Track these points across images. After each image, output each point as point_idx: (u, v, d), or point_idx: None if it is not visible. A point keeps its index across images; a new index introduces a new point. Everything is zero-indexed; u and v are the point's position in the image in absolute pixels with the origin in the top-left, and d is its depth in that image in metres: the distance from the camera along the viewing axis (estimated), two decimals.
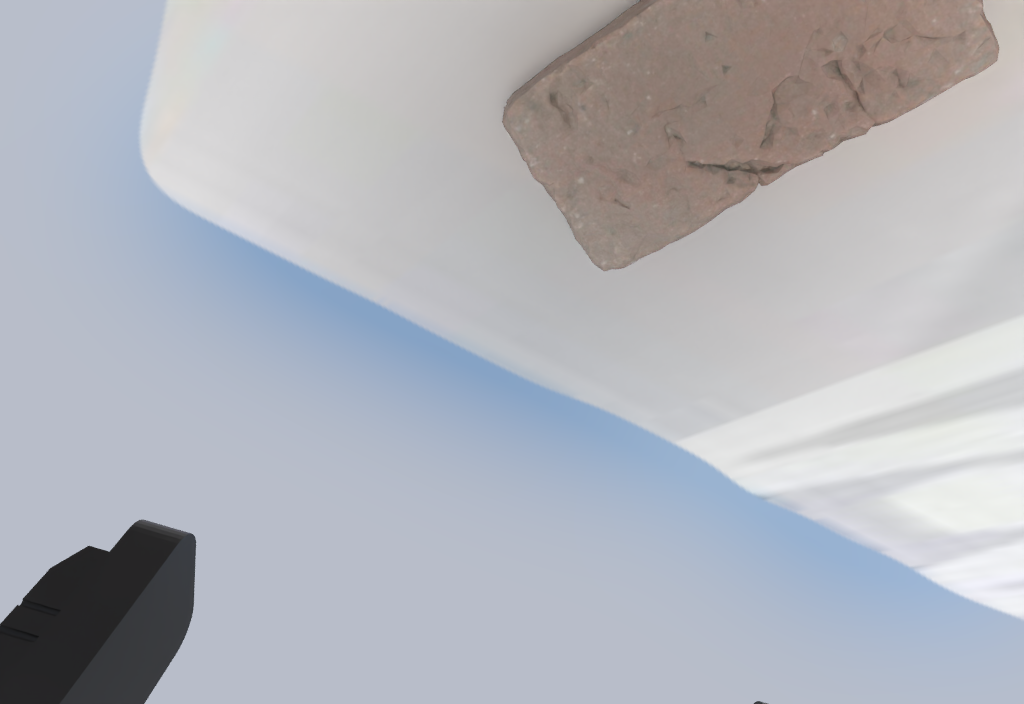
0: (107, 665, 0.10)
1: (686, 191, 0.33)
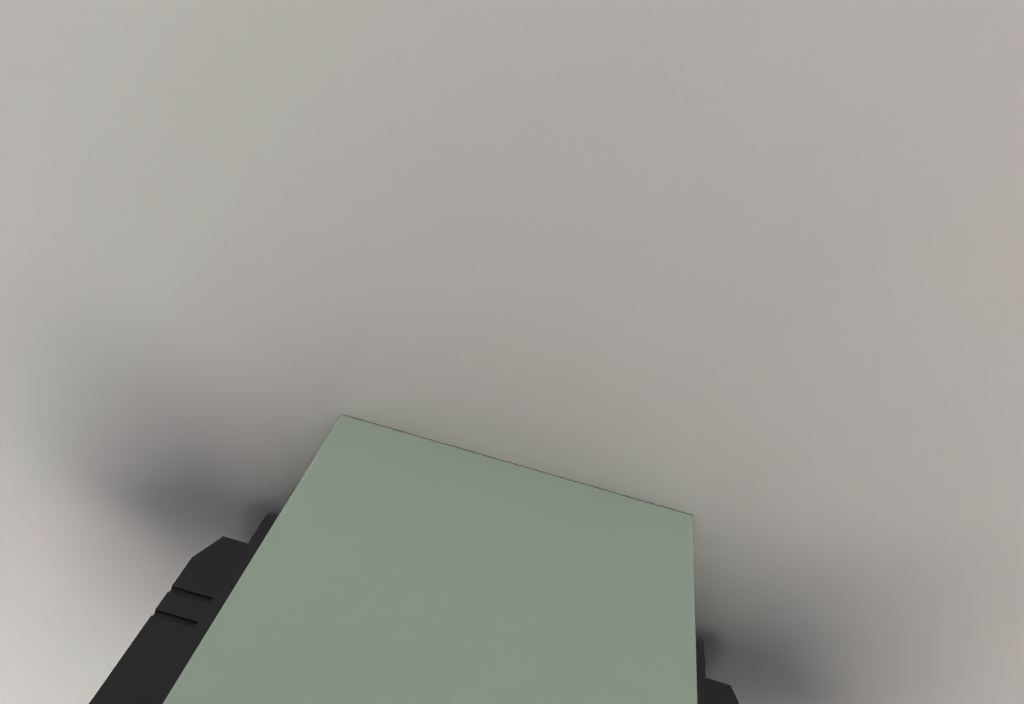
0: None
1: None
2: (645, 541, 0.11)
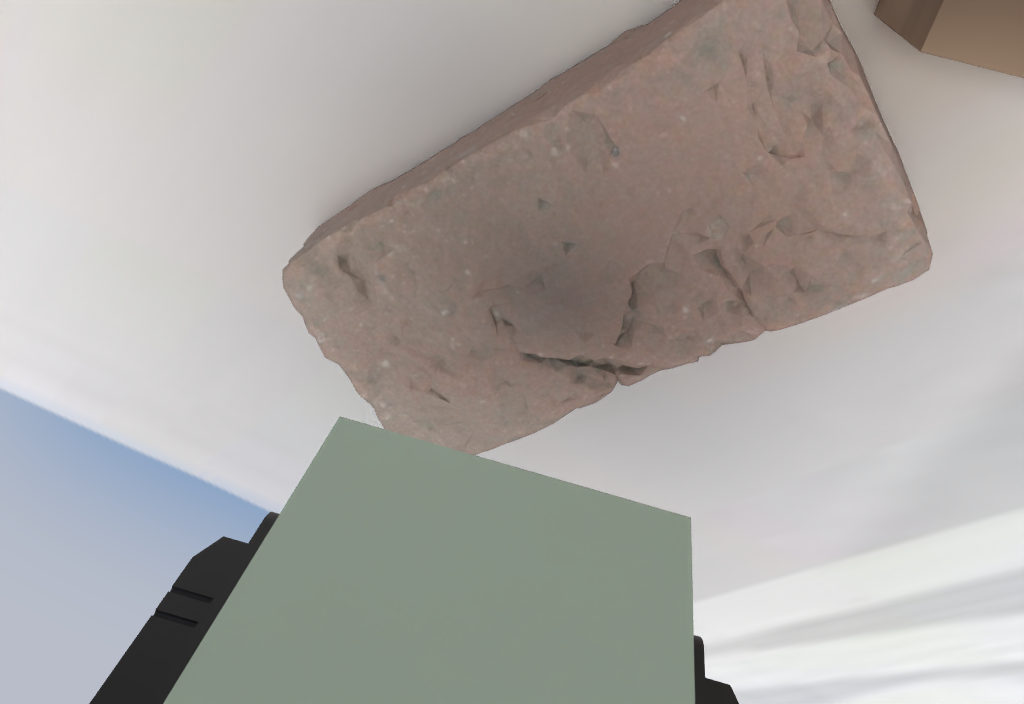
0: None
1: (522, 387, 0.25)
2: (643, 543, 0.11)
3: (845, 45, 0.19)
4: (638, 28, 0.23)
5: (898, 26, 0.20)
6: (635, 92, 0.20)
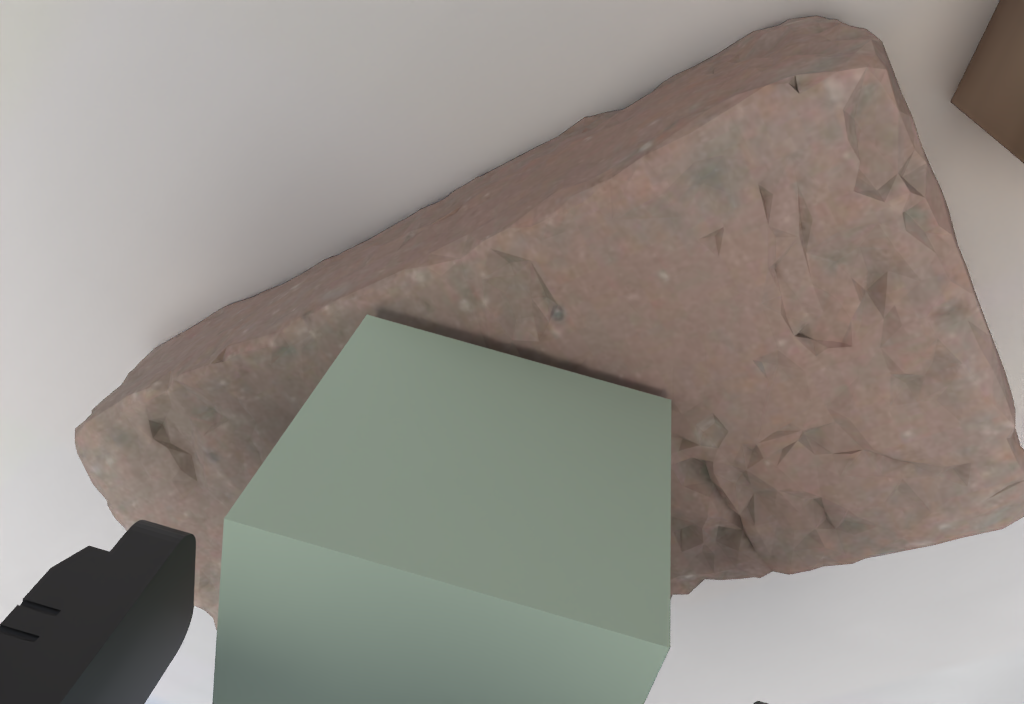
0: (107, 665, 0.10)
1: None
2: (629, 415, 0.13)
3: (931, 184, 0.12)
4: (605, 113, 0.16)
5: (1005, 135, 0.12)
6: (591, 232, 0.12)
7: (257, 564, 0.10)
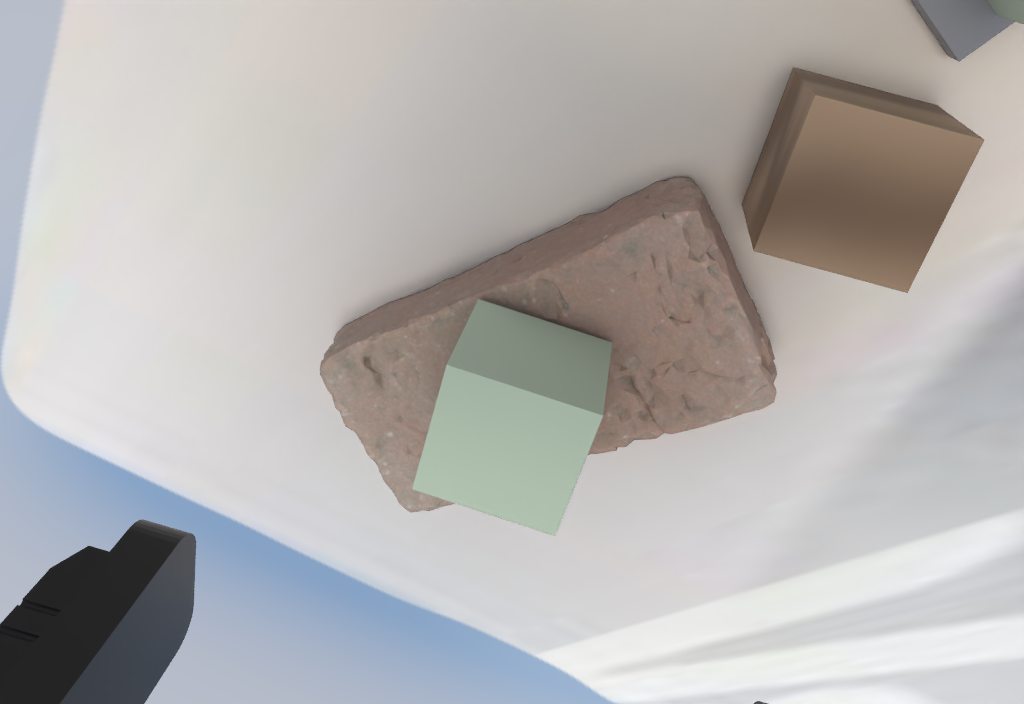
0: (107, 665, 0.10)
1: None
2: (593, 346, 0.30)
3: (720, 256, 0.29)
4: (589, 214, 0.33)
5: (748, 223, 0.29)
6: (582, 271, 0.29)
7: (455, 383, 0.26)
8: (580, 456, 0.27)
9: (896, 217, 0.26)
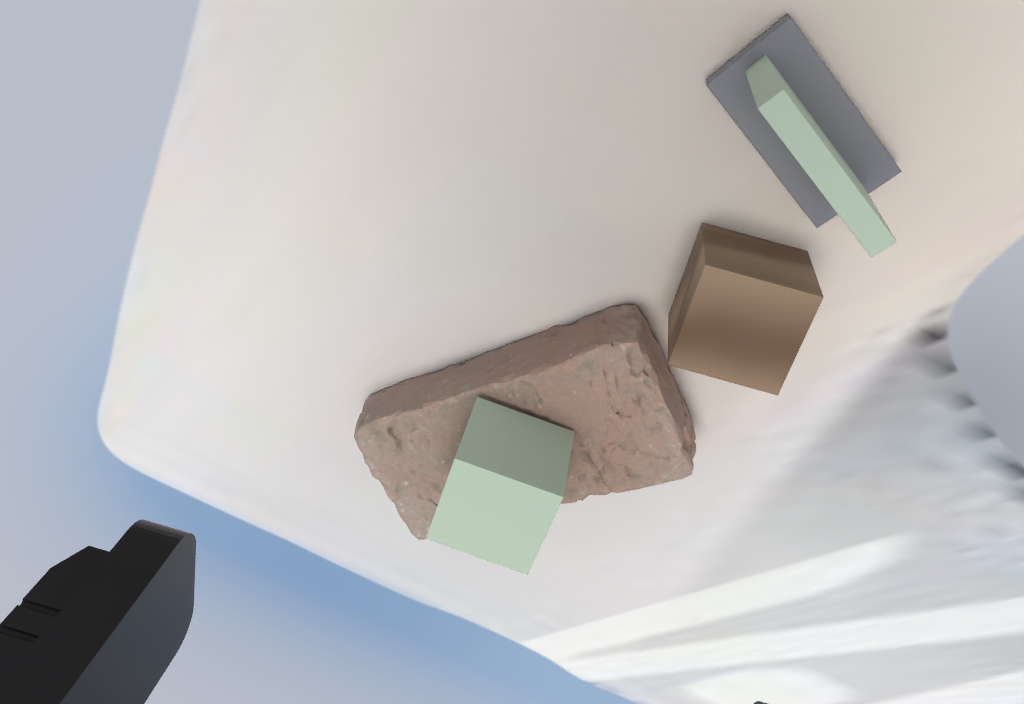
0: (107, 665, 0.10)
1: None
2: (560, 436, 0.41)
3: (652, 372, 0.39)
4: (561, 325, 0.43)
5: (668, 337, 0.40)
6: (552, 378, 0.40)
7: (460, 470, 0.37)
8: (547, 522, 0.38)
9: (766, 345, 0.36)
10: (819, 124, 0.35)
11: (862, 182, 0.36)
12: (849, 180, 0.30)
